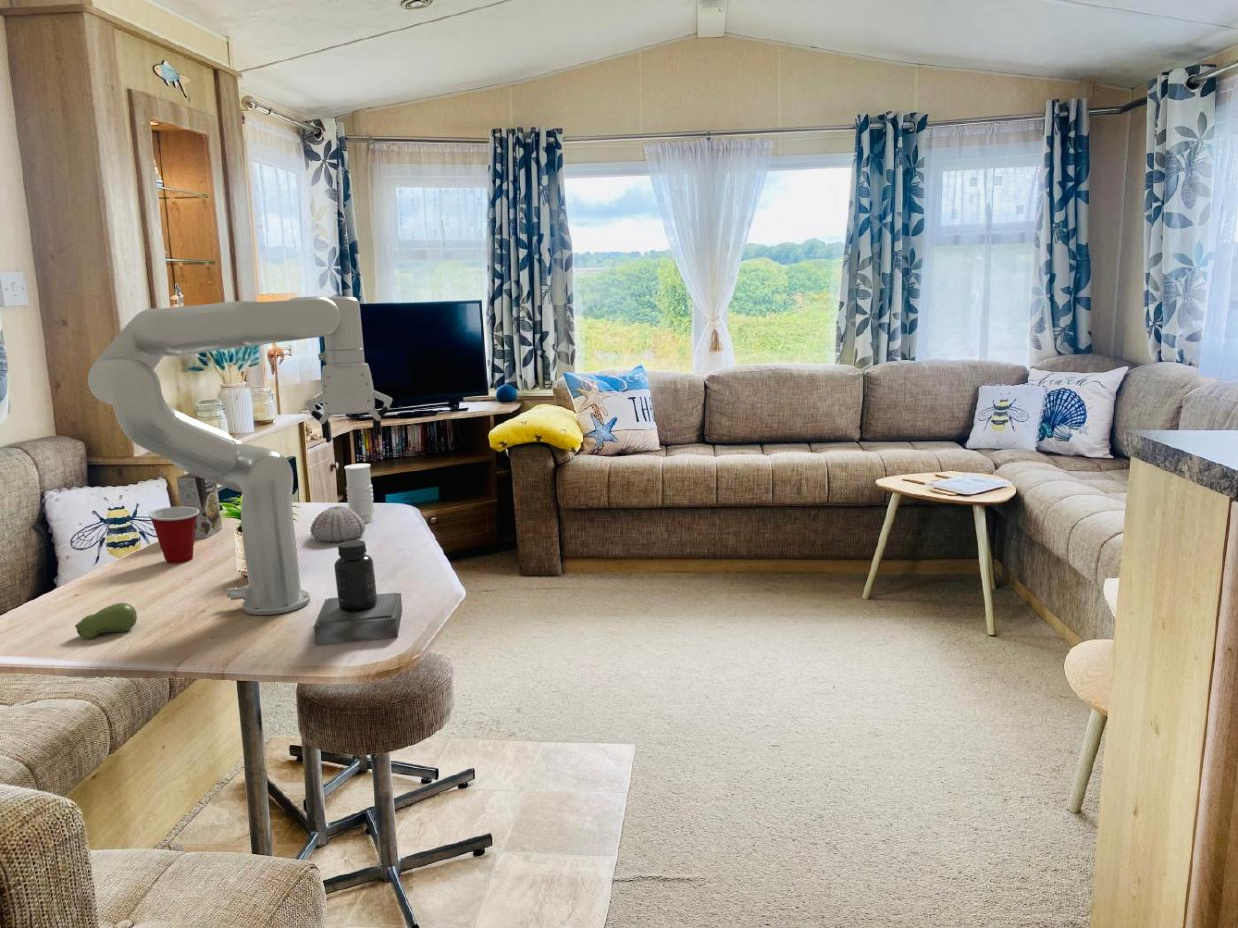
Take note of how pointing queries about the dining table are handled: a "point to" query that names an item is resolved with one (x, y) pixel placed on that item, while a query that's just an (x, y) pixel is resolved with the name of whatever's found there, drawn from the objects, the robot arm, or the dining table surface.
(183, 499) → the coffee box
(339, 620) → the grey square block
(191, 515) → the plastic cup
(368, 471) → the candle
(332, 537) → the sea urchin shell
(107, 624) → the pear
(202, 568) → the dining table surface
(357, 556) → the supplement bottle
